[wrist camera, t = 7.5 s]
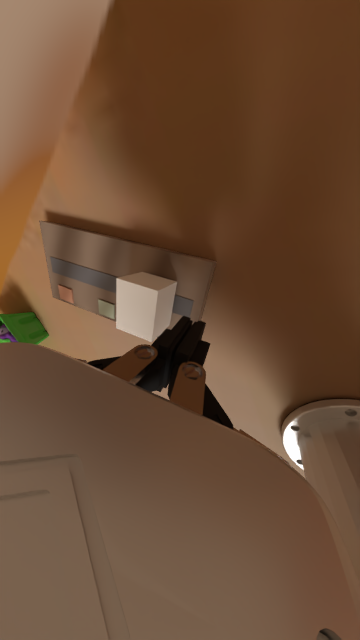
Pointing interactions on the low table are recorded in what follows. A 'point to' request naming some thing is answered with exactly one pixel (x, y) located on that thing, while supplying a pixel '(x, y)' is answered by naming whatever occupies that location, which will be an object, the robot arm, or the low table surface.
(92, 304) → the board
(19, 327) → the fruit basket
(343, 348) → the low table surface
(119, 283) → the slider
